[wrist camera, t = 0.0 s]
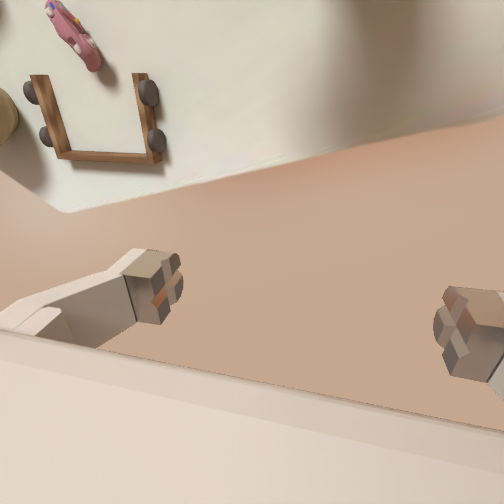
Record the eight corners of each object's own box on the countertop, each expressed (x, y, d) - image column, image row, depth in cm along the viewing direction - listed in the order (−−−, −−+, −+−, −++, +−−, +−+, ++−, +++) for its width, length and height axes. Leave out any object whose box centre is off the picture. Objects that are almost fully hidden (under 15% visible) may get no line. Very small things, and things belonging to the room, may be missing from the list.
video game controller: (114, 59, 53) (95, 48, 46) (95, 76, 54) (74, 67, 47) (73, 3, 50) (46, -17, 43) (54, 22, 51) (25, 4, 44)
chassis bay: (36, 75, 57) (17, 74, 54) (155, 73, 52) (143, 72, 48) (62, 155, 65) (47, 159, 61) (168, 160, 60) (158, 165, 56)
